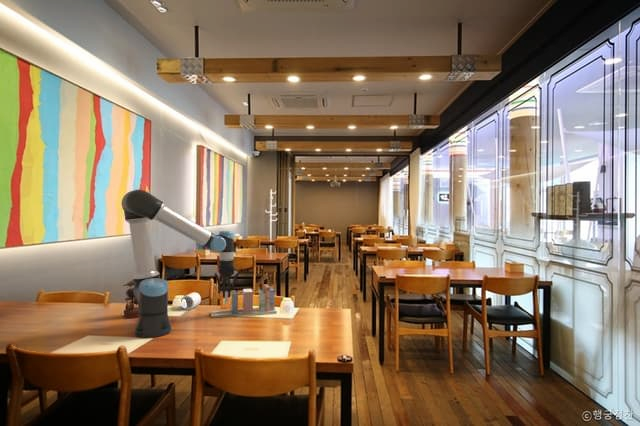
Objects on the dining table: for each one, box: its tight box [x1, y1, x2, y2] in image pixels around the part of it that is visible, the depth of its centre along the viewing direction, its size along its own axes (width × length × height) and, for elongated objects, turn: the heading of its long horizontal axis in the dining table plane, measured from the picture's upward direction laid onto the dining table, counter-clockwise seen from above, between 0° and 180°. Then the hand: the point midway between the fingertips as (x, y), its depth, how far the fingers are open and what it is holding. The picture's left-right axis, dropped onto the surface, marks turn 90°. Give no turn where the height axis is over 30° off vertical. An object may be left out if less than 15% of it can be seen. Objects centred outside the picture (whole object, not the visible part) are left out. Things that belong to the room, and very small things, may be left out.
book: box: [242, 288, 254, 313], centre depth 204 cm, size 9×5×11 cm, turn 16°
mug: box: [180, 291, 202, 311], centre depth 215 cm, size 12×10×8 cm
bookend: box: [230, 290, 239, 314], centre depth 202 cm, size 9×3×10 cm, turn 17°
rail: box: [210, 284, 278, 319], centre depth 204 cm, size 11×34×14 cm, turn 106°
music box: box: [122, 279, 139, 320], centre depth 198 cm, size 15×11×20 cm
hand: (226, 303), depth 201 cm, fingers closed
